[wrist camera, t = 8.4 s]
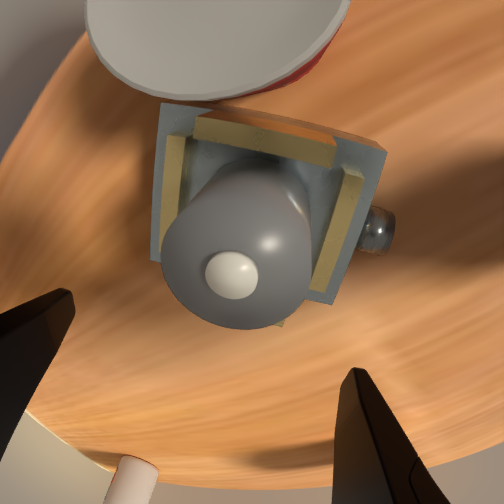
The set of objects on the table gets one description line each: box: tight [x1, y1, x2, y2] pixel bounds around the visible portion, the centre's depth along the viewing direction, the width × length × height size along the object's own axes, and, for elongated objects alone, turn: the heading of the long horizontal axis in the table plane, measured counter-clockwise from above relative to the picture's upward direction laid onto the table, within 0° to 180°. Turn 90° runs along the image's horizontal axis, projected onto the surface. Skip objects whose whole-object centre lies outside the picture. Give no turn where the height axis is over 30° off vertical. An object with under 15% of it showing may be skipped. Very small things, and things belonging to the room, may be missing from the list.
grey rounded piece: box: [160, 158, 312, 330], centre depth 15 cm, size 6×6×6 cm
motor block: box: [150, 100, 395, 327], centre depth 18 cm, size 14×10×6 cm
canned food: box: [84, 0, 351, 101], centre depth 11 cm, size 8×8×11 cm
